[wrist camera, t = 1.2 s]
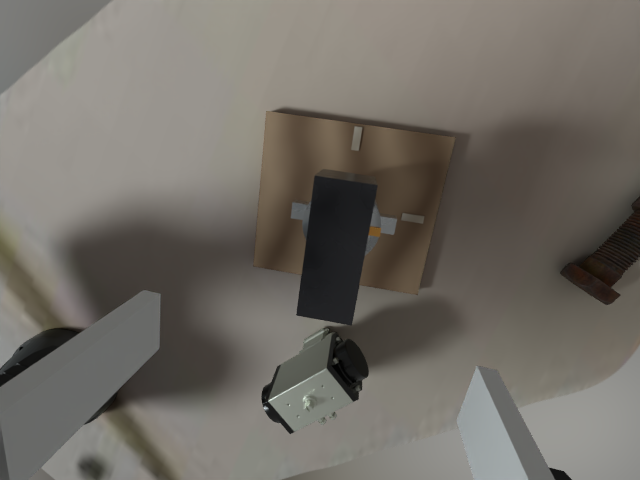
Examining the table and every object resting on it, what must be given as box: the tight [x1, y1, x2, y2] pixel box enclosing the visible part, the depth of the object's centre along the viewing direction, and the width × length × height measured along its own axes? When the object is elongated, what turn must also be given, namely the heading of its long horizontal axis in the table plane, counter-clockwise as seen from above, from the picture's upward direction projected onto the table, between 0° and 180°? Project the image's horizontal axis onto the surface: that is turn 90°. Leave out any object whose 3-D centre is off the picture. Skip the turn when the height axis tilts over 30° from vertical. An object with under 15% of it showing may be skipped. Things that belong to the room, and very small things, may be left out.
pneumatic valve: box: [262, 328, 369, 434], centre depth 40 cm, size 6×12×12 cm, turn 127°
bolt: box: [560, 197, 640, 305], centre depth 35 cm, size 6×5×15 cm
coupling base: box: [253, 111, 456, 295], centre depth 38 cm, size 20×18×5 cm
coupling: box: [291, 169, 397, 325], centre depth 29 cm, size 10×10×13 cm
